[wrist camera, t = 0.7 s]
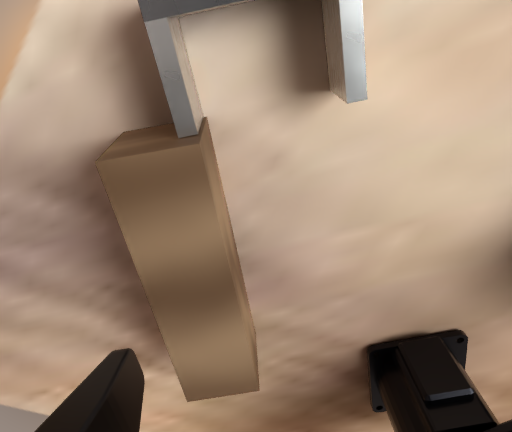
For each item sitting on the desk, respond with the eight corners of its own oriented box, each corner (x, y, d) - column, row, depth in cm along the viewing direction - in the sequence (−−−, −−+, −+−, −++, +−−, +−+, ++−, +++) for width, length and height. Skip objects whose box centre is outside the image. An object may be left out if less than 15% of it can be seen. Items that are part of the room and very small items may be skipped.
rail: (255, 330, 25) (259, 390, 21) (194, 339, 25) (187, 401, 21) (207, 115, 18) (199, 143, 14) (125, 130, 18) (94, 162, 14)
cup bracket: (347, 86, 17) (367, 99, 15) (186, 120, 18) (178, 137, 15) (337, -42, 15) (359, -54, 13) (153, -1, 15) (136, -4, 13)
